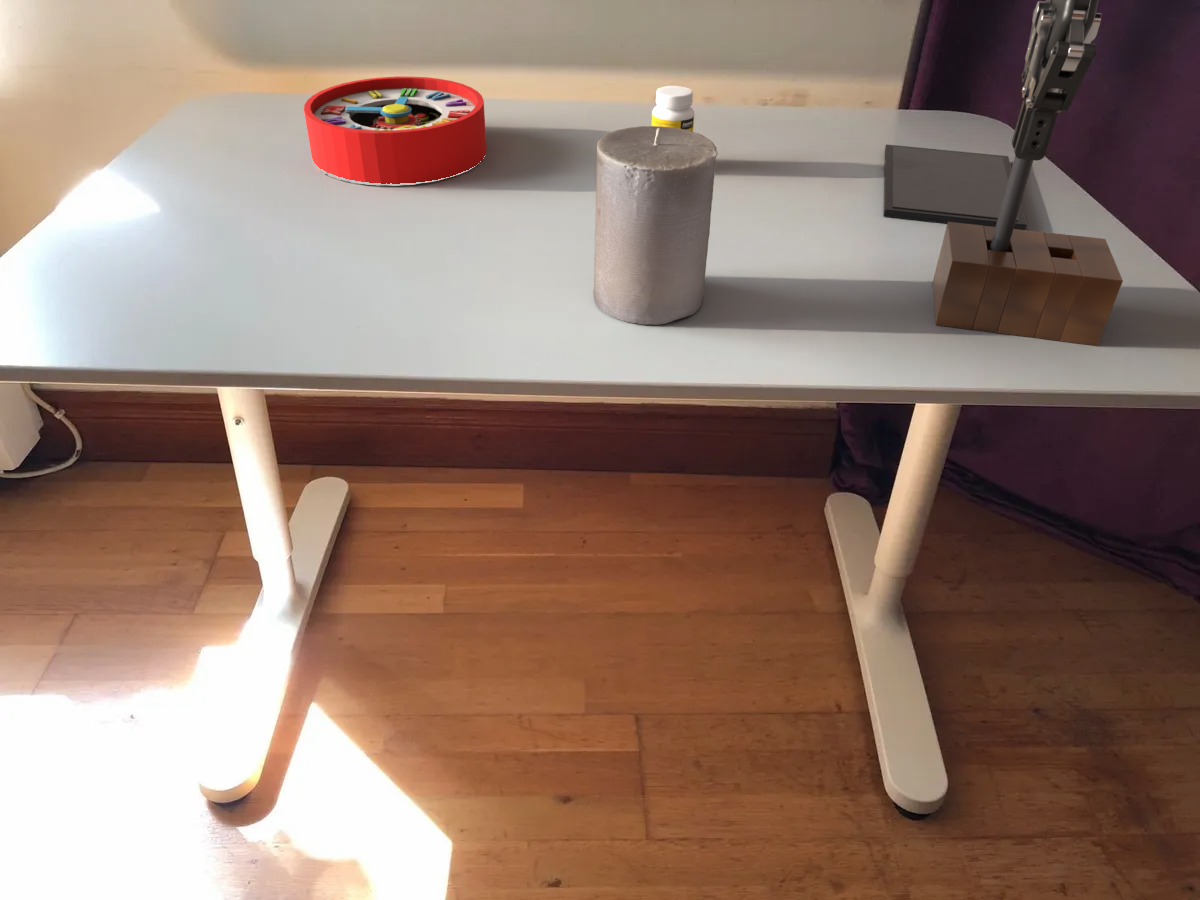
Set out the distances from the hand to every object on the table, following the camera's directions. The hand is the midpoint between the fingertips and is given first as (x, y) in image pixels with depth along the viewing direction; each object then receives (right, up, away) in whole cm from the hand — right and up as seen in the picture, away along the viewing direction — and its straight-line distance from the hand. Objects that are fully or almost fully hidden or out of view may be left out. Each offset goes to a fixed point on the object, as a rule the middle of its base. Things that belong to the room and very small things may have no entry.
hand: (1026, 152), depth 75 cm
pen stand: (+2, -11, +8) cm, 14 cm away
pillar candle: (-29, -10, +9) cm, 32 cm away
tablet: (+5, +6, +30) cm, 31 cm away
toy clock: (-57, +11, +36) cm, 68 cm away
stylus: (0, -7, +5) cm, 9 cm away
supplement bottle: (-26, +9, +35) cm, 44 cm away
